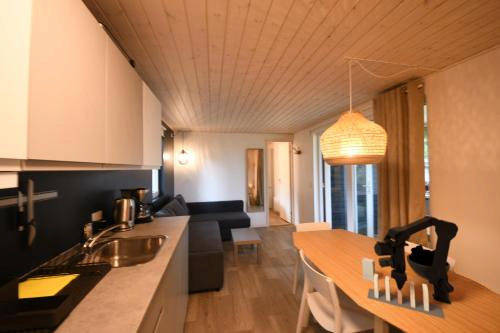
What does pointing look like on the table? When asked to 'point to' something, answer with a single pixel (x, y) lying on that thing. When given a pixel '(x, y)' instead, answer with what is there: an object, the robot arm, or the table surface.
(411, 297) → the domino
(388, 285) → the domino
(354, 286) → the table surface
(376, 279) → the domino
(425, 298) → the domino
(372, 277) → the skincare box
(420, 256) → the bowl of black rocks
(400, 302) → the domino
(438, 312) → the domino mat
